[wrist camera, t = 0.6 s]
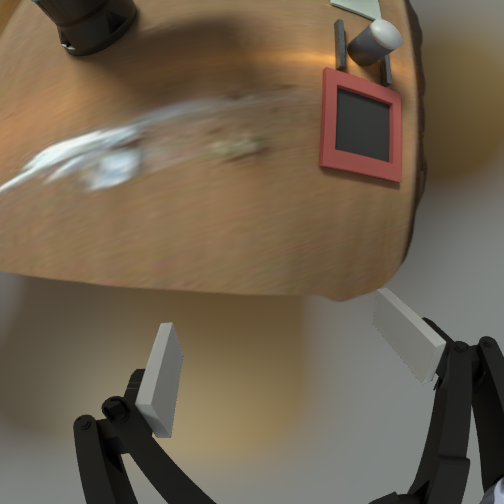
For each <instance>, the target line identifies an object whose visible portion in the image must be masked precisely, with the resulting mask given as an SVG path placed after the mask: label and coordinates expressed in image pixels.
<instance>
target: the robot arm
mask: <svg viewBox="0 0 504 504" xmlns="http://www.w3.org/2000/svg"><path fill="white" fill-rule="evenodd" d="M31 1H32V2H35V3H36V4H37V5H38V6H39V7H40V8H41V9H42V10H43V12H44V13H45V14H46V15H47V16H48V17H49V18H50V19H51V20H52V21H53V22H54V23H55V24H56V25H57V29H58V33H59V38H60V42H61V44H62V46H63V47H64V48H65V49H66V50H67V51H68V52H69V53H70V54H73V55H77V56H83V55H89V54H92V53H95V52H98V51H100V50H102V49H104V48H106V47H108V46H110V45H111V44H113V43H114V42H115V41H117V40H118V39H119V38H120V37H121V36H123V35H124V34H125V32H126V31H127V30H128V29H129V28H130V26H131V25H132V23H133V21H134V19H135V16H136V8H135V5H134V2H133V0H31ZM373 324H374V326H375V327H376V328H377V329H378V330H379V332H380V333H381V334H382V335H383V337H384V338H385V339H386V340H387V341H388V343H389V344H390V345H391V346H392V348H393V349H394V350H395V351H396V352H397V354H398V355H399V356H400V358H401V359H402V360H403V361H404V363H405V364H406V365H407V366H408V368H409V369H410V370H411V372H412V373H413V374H414V375H415V377H416V378H417V379H418V380H419V382H420V383H421V385H424V384H426V383H428V382H430V381H432V380H433V378H434V375H435V373H436V374H437V375H438V376H439V377H438V380H437V382H436V384H435V387H434V389H433V390H435V389H436V393H435V399H434V406H433V412H432V417H431V422H430V427H429V431H428V435H427V439H426V443H425V447H424V451H423V455H422V458H421V462H420V465H419V468H418V472H417V474H416V477H415V480H414V482H413V484H412V486H411V487H410V489H409V491H408V493H407V494H400V495H397V494H396V492H393V493H391V494H388V495H386V496H383V497H381V498H379V499H376V500H374V501H372V502H370V503H369V504H461V502H462V499H463V495H464V491H465V487H466V483H467V478H468V473H469V468H470V459H468V458H466V454H467V447H468V440H469V430H470V419H471V404H472V408H473V413H474V418H475V424H476V430H477V436H478V443H479V452H480V461H481V476H482V484H483V490H484V496H483V499H482V501H481V502H480V504H504V357H503V354H502V352H501V350H500V348H499V346H498V344H497V342H496V341H495V339H493V338H491V337H488V336H484V337H482V338H481V339H480V340H479V343H478V345H473V346H469V345H468V344H466V343H465V342H462V341H456V342H454V341H453V340H452V339H451V338H450V337H449V336H448V335H447V334H446V333H444V331H442V330H441V329H440V328H439V327H438V326H437V325H436V324H435V323H434V322H433V321H431V320H429V319H427V318H420V317H419V316H418V315H417V314H416V313H415V312H414V311H412V310H411V309H410V308H409V307H408V306H407V305H406V304H405V303H404V302H402V301H401V300H400V299H399V298H398V297H397V296H396V295H395V294H394V293H392V292H391V291H390V290H389V289H388V288H387V287H385V288H381V289H377V293H376V303H375V312H374V320H373ZM182 363H183V353H182V350H181V347H180V344H179V341H178V338H177V335H176V332H175V329H174V325H173V323H161V325H160V328H159V331H158V334H157V337H156V339H155V342H154V345H153V348H152V351H151V354H150V357H149V361H148V364H147V367H146V369H137V370H135V372H134V373H133V374H132V375H131V378H130V380H129V384H128V386H127V389H126V391H125V394H124V397H120V396H113V397H110V398H108V399H107V400H105V402H104V403H103V404H102V412H103V414H104V415H105V416H106V419H101V420H95V419H94V417H92V416H91V415H82V416H80V417H78V418H77V419H76V420H75V422H74V426H73V428H74V438H75V447H76V454H77V460H78V466H79V472H80V477H81V482H82V487H83V491H84V495H85V499H86V503H87V504H138V502H137V500H136V497H135V495H134V492H133V490H132V487H131V484H130V481H129V479H128V476H127V473H126V470H125V467H124V464H123V460H122V457H121V454H125V453H129V454H130V455H131V456H132V458H133V459H134V461H135V462H136V464H137V465H138V466H139V468H140V469H141V471H143V473H144V474H145V476H146V477H147V478H148V480H149V481H150V482H151V484H152V485H153V486H154V487H155V488H156V490H157V491H158V492H159V493H160V494H161V496H162V497H163V498H164V499H165V500H166V502H167V503H168V504H216V503H215V502H214V501H213V500H212V499H210V497H208V496H207V495H206V494H205V493H204V492H203V491H202V490H201V489H200V488H199V487H198V486H197V485H195V483H194V482H193V481H192V480H191V479H189V477H188V476H186V474H185V473H184V472H183V471H182V470H181V469H180V468H179V467H178V466H177V465H176V464H175V463H174V462H173V460H172V459H171V458H170V457H169V456H168V455H167V454H166V453H165V451H164V450H163V449H162V448H161V447H160V446H159V444H158V443H157V442H156V441H155V439H154V438H153V437H152V433H153V432H154V434H155V436H156V437H158V438H171V434H172V426H173V420H174V413H175V406H176V399H177V392H178V387H179V380H180V373H181V368H182Z"/></svg>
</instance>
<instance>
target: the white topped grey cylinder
mask: <svg viewBox="0 0 504 504" xmlns="http://www.w3.org/2000/svg"><path fill="white" fill-rule="evenodd" d="M401 45H402V37H401V35H400V33H399V31H398V30H397V29H396V28H395V27H394V26H393V25H392V24H390V23H389V22H387V21H385V20H382V19H377V20H375V21H374V22H373V23H371V24H370V25H369V26H368V27H367V28H366V29H365V30H363V31H362V32H361V33H360V34H359V35H358V36H357V37H356V38H355V39H353V40H352V41H351V42H350V43H349V44H348V46H347V51H348V54H349V56H350V57H351V59H352V60H353V61H354V62H356V63H357V64H359V65H361V66H365V67H368V66H371V65H372V64H374V63H375V62H377V61H378V60H380V59H381V58H383V57H384V56H386V55H387V54H389V53H390V52H392V51H393V50H395V49H397V48H398V47H400V46H401Z"/></svg>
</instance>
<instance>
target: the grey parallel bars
mask: <svg viewBox="0 0 504 504" xmlns="http://www.w3.org/2000/svg"><path fill="white" fill-rule="evenodd" d="M334 29H335V54H336V70H339V71H342V70H343V69H344V68H345V67H346V61H345V40H344V26H343V20H340V19H338V20H337V21H336V22H335V23H334ZM380 69H381V82H382V86H384V87H387V86H389V85H391V72H390V62H389V54H387V55H386V56H384V57H383V58H381V59H380Z"/></svg>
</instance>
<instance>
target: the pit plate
mask: <svg viewBox="0 0 504 504" xmlns="http://www.w3.org/2000/svg"><path fill="white" fill-rule="evenodd" d="M401 155H402V119H401V97H400V93H398V92H396V91H393V90H391V89H389V88H386V87H384V86H381V85H379V84H376V83H373V82H371V81H368V80H365V79H362V78H359V77H357V76H354V75H351V74H347V73H344V72H341V71H338V70H334V69H331V68H327V67H326V68H325V69H324V70H323V93H322V121H321V141H320V156H319V166H321V167H326V168H332V169H337V170H343V171H348V172H353V173H357V174H362V175H367V176H371V177H376V178H380V179H384V180H388V181H393V182H400V178H401Z"/></svg>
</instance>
